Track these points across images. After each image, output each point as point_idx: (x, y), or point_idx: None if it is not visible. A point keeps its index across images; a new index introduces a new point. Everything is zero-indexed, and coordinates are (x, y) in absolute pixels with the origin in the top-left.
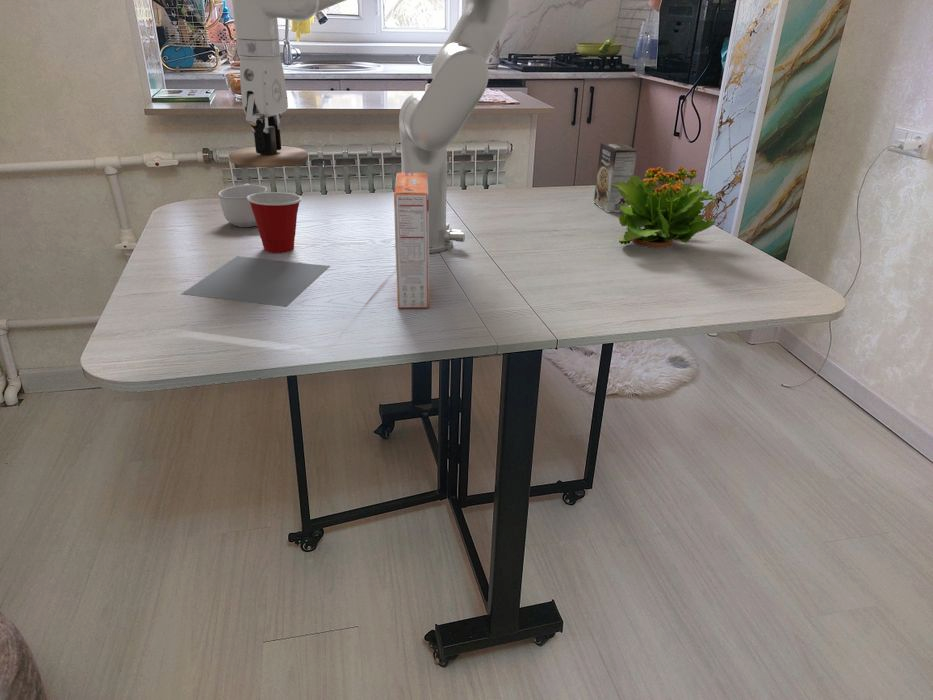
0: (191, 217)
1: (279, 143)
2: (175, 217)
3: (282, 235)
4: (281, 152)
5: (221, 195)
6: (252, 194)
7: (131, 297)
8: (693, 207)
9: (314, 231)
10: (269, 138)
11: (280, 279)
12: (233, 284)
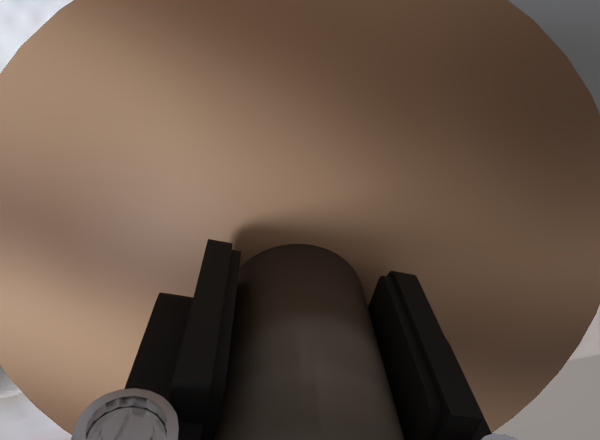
0: (24, 403)
1: (227, 275)
2: (39, 432)
3: None
4: (234, 220)
5: (2, 384)
6: None
7: (583, 338)
8: None
9: (31, 8)
10: (456, 372)
11: (583, 24)
12: None
